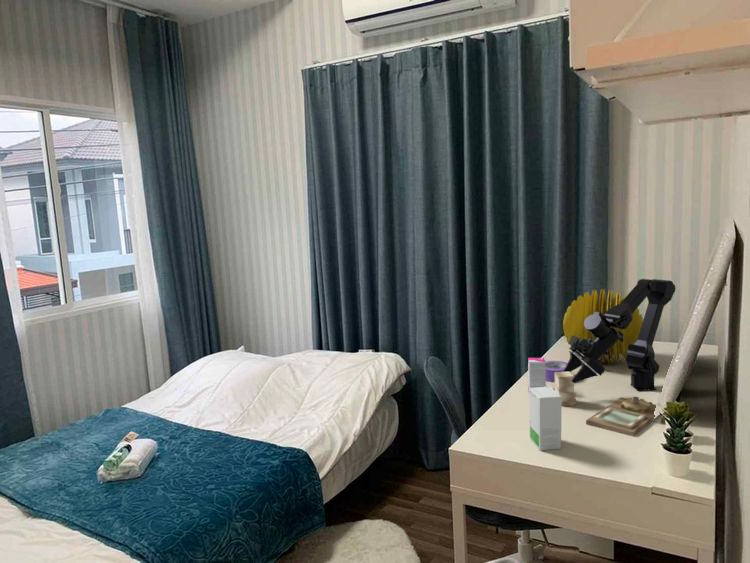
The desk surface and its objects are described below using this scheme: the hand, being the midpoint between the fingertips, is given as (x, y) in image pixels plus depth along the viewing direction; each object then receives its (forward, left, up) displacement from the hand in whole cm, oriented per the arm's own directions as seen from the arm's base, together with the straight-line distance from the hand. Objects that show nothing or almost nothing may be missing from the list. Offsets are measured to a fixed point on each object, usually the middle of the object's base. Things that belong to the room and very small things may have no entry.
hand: (568, 377), depth 186 cm
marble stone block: (+1, 0, -9) cm, 9 cm away
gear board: (-13, +14, -9) cm, 21 cm away
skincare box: (+15, +30, -9) cm, 35 cm away
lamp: (-26, -41, -9) cm, 49 cm away
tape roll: (-3, -26, -9) cm, 28 cm away
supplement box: (+7, -13, -9) cm, 17 cm away
